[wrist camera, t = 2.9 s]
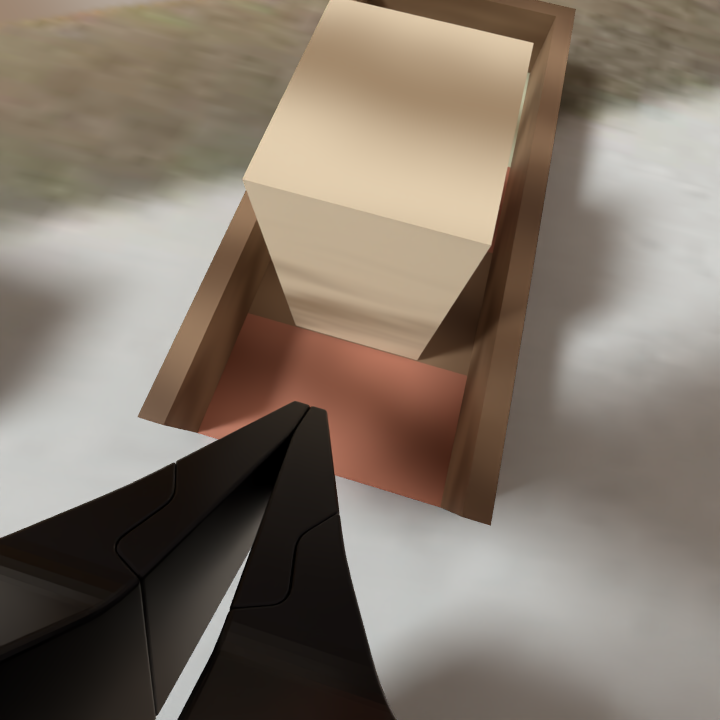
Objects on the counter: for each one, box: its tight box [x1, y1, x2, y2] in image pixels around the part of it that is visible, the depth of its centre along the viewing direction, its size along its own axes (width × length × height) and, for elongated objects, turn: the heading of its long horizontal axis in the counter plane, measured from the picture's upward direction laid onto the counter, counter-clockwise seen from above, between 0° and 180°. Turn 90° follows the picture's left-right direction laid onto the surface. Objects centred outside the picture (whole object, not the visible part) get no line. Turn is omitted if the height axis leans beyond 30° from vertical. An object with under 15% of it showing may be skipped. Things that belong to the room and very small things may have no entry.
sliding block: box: [242, 0, 534, 360], centre depth 13 cm, size 7×6×9 cm
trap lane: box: [138, 0, 576, 526], centre depth 18 cm, size 28×13×4 cm, turn 164°
